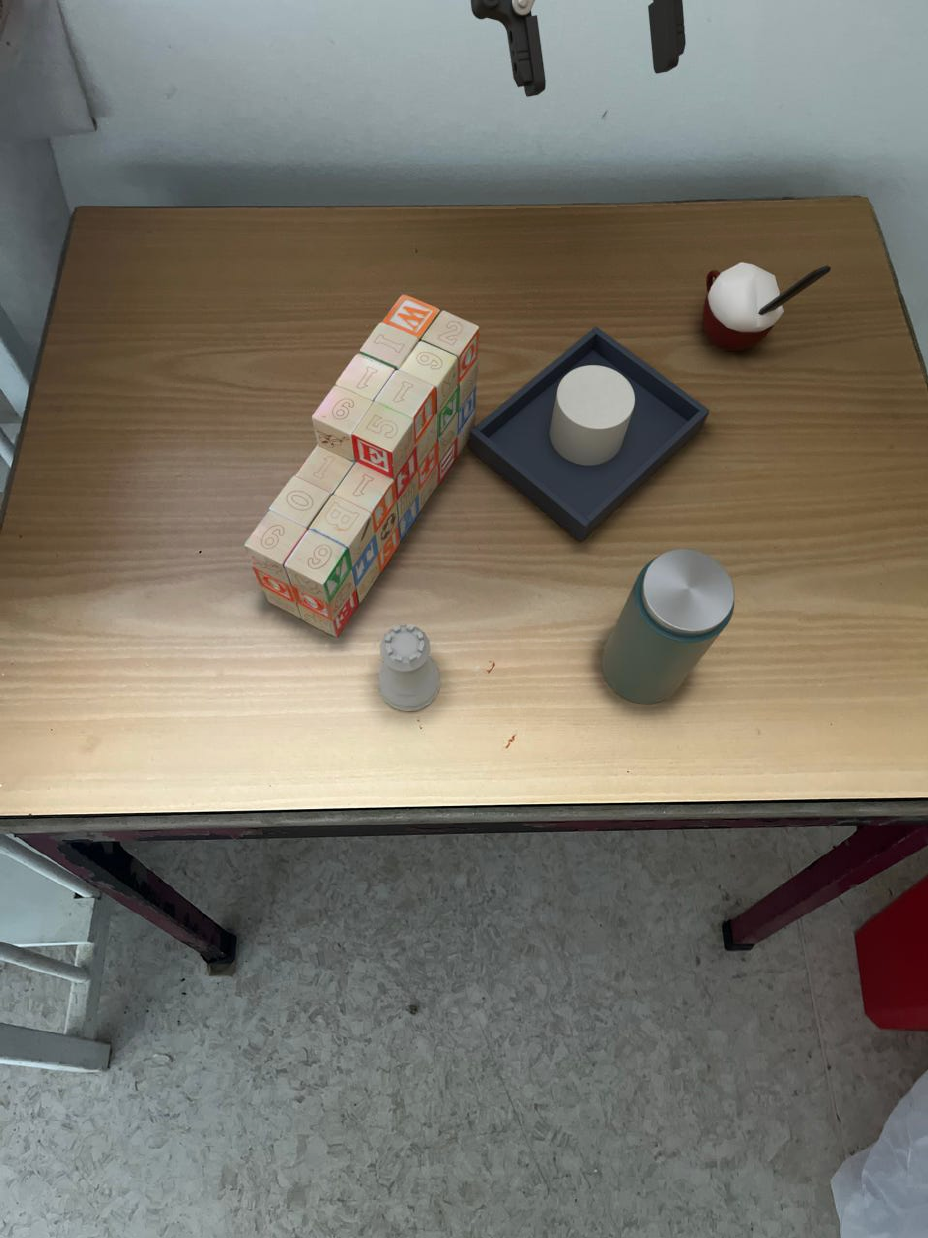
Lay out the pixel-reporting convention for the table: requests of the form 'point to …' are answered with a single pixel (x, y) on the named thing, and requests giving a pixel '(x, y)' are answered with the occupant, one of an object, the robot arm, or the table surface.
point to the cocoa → (746, 304)
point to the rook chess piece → (407, 669)
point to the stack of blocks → (369, 464)
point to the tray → (576, 491)
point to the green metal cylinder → (667, 625)
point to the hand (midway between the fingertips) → (602, 81)
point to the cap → (591, 415)
